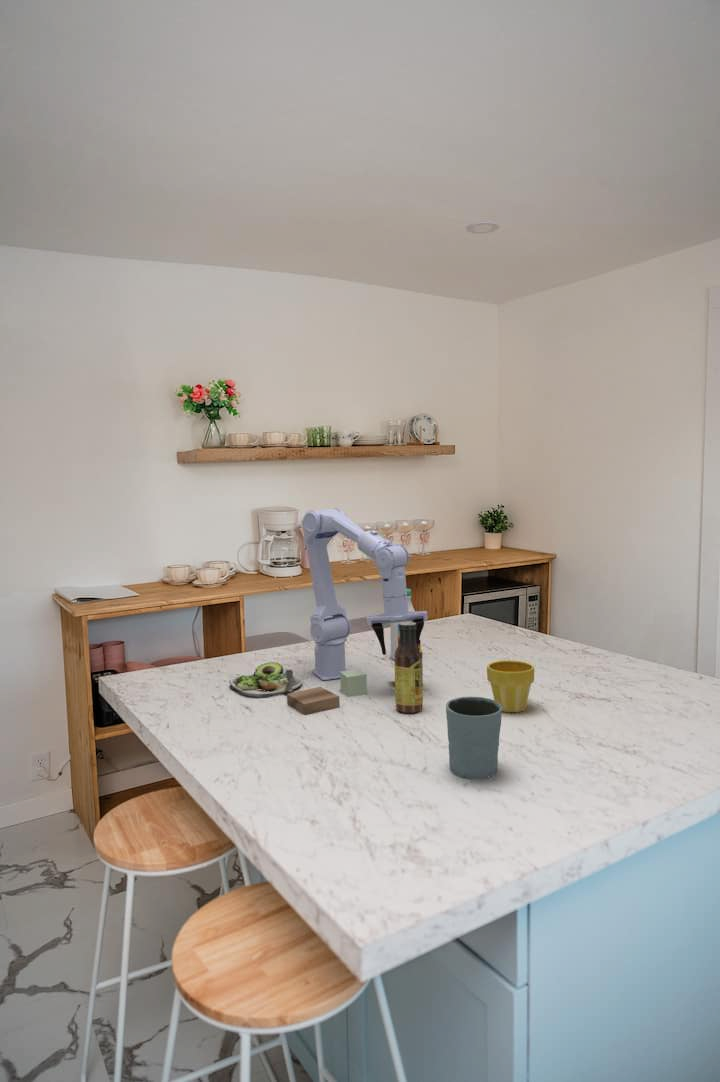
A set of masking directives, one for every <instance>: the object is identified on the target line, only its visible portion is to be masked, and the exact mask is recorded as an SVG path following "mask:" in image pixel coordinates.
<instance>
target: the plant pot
mask: <svg viewBox="0 0 720 1082" xmlns="http://www.w3.org/2000/svg"><path fill="white" fill-rule="evenodd" d="M486 676H487V677H486V678H487V682H488V683H490V687H491V692H492V696H493V699H494V701H496V702H498V703H499V704H500V705H501V706H502V713H510V712H512V713H513V712H516V713H522V712H525V710H526V709H527V706H528V705H527V703H528V700H529V694H530V691H531V686H532V683H534V681H535V666H534V665H533V664H531V663H530V662H526V661H523V660H522V661H521V660H513V659H512V660H509V659H508V660H507V659H506V660H505V659H504V660H495V661H492V662H490V663H488V664H487V666H486ZM521 711H522V712H521ZM513 714H514V713H513Z"/></svg>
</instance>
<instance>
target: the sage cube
mask: <svg viewBox="0 0 720 1082" xmlns="http://www.w3.org/2000/svg"><path fill="white" fill-rule="evenodd" d="M367 678H368V677H367V673H365V672H364V671H363V670H361V669H360V668H357V669H350V670H346V671H342V672H340V678H339V681H340V692H341V693H342V694H343V695H344V696H346V697H347V698H349V697H350V698H351V697H356V696H357V697H358V696H363V695H367V694H368V688H367V687H368V685H367V684H368V683H367V682H368V681H367Z"/></svg>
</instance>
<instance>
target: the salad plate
mask: <svg viewBox="0 0 720 1082" xmlns="http://www.w3.org/2000/svg"><path fill="white" fill-rule="evenodd" d="M302 684H303V680H302V679H300V678H298V677H296V676H294V671H293V670H292V669H286V670H284V666H282V664H281V663H279V662H276V661H275V662H274V661H273V662H272V661H271V662H266V663H263V664H260V665H258V666H257V668H255V670H254V673H253V674H247V675H245V674H243V675H241V676H236V677H233V678H232V679H230V681H229V685H230V688H231V689H233V690H234V691H236V692H238V693H240V694H242V695H245V696H247V695H248V697H251V696H252V698H269V697H268V696H270V697H274V695H275V696H278V695H279V694H280V695H285V694H289V693H293V691H294V690H295V689H297V688H299V687H300V686H301V685H302ZM256 689H262V690H261V691H263V692H256V691H257V690H256ZM243 690H244V691H243ZM264 690H265V691H269V692H265V691H264ZM252 691H255V692H252ZM288 692H289V693H288Z"/></svg>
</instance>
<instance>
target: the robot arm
mask: <svg viewBox="0 0 720 1082" xmlns="http://www.w3.org/2000/svg"><path fill="white" fill-rule="evenodd" d="M301 526H302V531H303V532H302V533H303V536H304V537H303V538H304V542H305V543H304V544H305V550H306V555H307V560H308V565H309V571H310V576H311V582H312V587H313V592H314V598H315V603H316V609H315V610H314V611H313V612H312V614H311V615H310V617H309V618H310V635H311V638H312V640H313V642H314V644H315V646H314V666H315V667H314V669H311V672H312V673H314V674H315V675H316V676H317V677H318V678H319V679H320V680H322V681H329V680H335V679H340V672H342V671H347V670H346V642H347V641H348V637H349V636H350V634H351V631H352V630H351V629H352V628H351V627H352V626H351V625H352V624H351V621H350V620H349V618H348V616H347V613H346V609H345V608H344V607H342V606H341V605H339V604H338V601H337V600H338V599H337V596H336V591H335V585H334V580H333V575H332V574H333V573H332V569H331V564H330V558H329V554H328V553H329V552H328V548H327V547H328V545H329V543H330V541H331V540H332V539H334V538H335V536H337V535H338V534H341V535H343V536H345V537H346V538H348V539H350V540H352V541H353V542H355V543H356V545H357V549H358V550H359V551H360V552H362V554H364V555H366V556H367V557H369V558H370V559H372V560H373V561H374V564H375V567H376V568H377V569H378V572H379V573H378V574H379V577H380V578H381V587H382V598H383V599H382V600H383V609H384V613H383V614H378V615H370V616H365V617H366V625H367V626H368V627H369V626H371V628H372V629H373V631H374V633H375V635H376V637H377V640H378V643H379V645H380V649H381V653H382V655H383V656H386V655H387V650H386V649H387V648H386V643H385V632H384V626H383V625H385V624H391V623H396V622H406V621H412V622H415V623H416V625H417V629H416V640H417V641H416V642H417V645H418V644H419V639H420V638H421V635H422V631H423V629H424V627H425V621H428V620H429V614H428V611H427V610H422V611H421V610H420V611H415V612H408V600H407V589H408V588H407V580H406V579H407V577H406V567H407V566H408V564H409V562H410V556H409V555H410V554H409V552H408V549H407V548H406V547H405V546H404V545H403V544H400V543H399V544H394V543H392V541H391V540H390V539H385V538H384V537H382V536H380V534H379V532H378V531H377V530H371V529H370V530H367V531H365V530H364V529H363V528H361V527H360V526H359V525H358V524H356V523H355V522H354V521H352V520H351V519H350V518H348V516H347V514H346V512H345V511H342V510H341V509H340V508H337V507H334V508H327V509H326V508H325V509H317V510H313V509H310V510H307V512H305V514H304V516H303V518H302V520H301ZM399 619H402V620H399ZM391 620H392V621H391ZM420 640H421V639H420Z"/></svg>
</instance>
